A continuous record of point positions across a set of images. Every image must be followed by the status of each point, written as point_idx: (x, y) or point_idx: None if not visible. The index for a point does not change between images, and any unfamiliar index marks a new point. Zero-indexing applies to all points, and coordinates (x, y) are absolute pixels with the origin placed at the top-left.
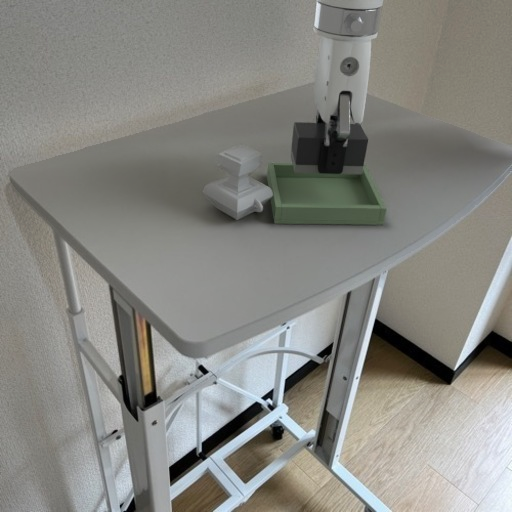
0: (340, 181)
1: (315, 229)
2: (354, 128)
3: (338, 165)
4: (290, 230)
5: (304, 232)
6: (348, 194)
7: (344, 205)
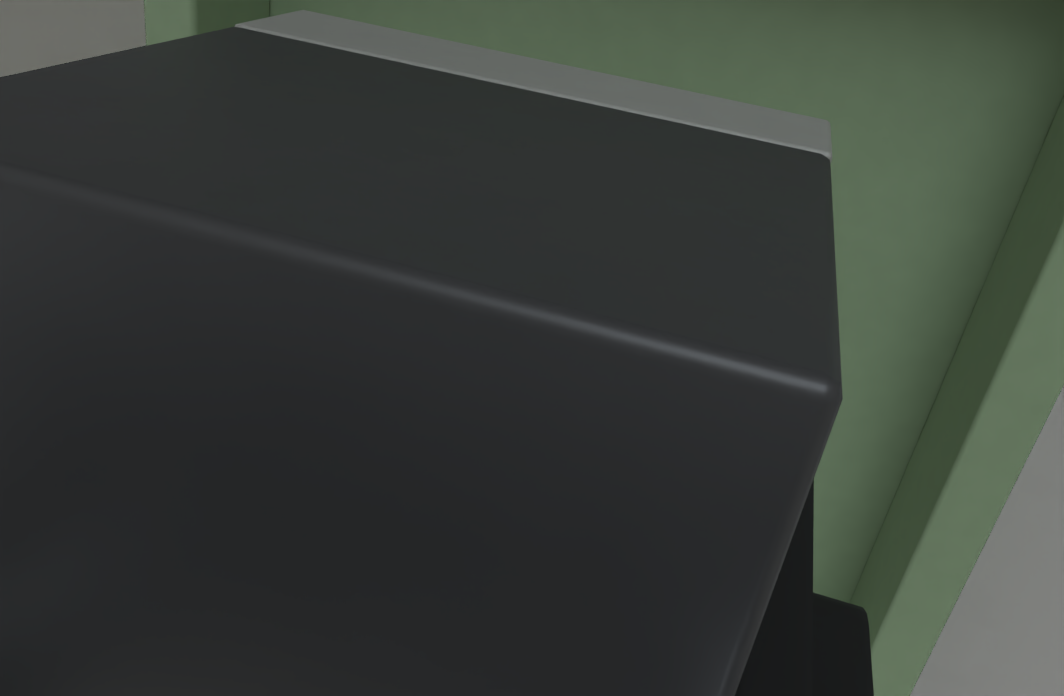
0: (332, 10)
1: (1017, 500)
2: (96, 399)
3: (867, 641)
4: (960, 652)
5: (1026, 585)
6: (582, 28)
7: (1030, 334)
